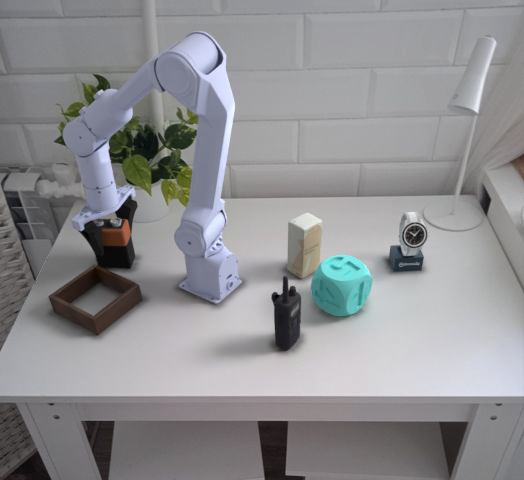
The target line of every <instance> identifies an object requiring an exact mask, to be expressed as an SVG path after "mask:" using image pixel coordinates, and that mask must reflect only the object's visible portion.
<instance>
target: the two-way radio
mask: <svg viewBox="0 0 524 480" xmlns="http://www.w3.org/2000/svg"><path fill="white" fill-rule="evenodd" d="M270 297H271V298H270V299H271V301H272V304H273V308H274V309H273V323H274V341H275V345H276V346H277V348H278V349H280V350H283V351H289V350H291V348H292V347H294V345H295V344H296V343H297V342H298V340H299V339H300V337H301V324H302V320H301V319H302V318H301V316H302V296H301V293H300V292H298V291H297V287H296V286H295V285H290V286H289V276H288V275H284V276H283V277H282V293H280V294H279V293H278V292H277V291H273V292H272V293H271V295H270Z"/></svg>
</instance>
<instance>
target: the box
mask: <svg viewBox="0 0 524 480" xmlns="http://www.w3.org/2000/svg"><path fill="white" fill-rule="evenodd" d="M322 233H323V220H322V219H320V218H319V217H317V216H315V215H314V214H312V213H310V212H308V211H307V212H304V213H302V214H299V215H298V216H296V217H294V218H292V219H290V220H288V221H287V260H286V261H287V263H286V265H287V267H286V269H287V271H289V272H290V273H291V274H293V275H294V276H297V277H298V278H299V279H305V278H306V277H308V276H310V275H311V274H314V273H315V271H316V269H317V268H318V266H319V265H320V264H321V252H322V250H321V249H322V248H321V247H322V235H323V234H322Z"/></svg>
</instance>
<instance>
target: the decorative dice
mask: <svg viewBox="0 0 524 480" xmlns="http://www.w3.org/2000/svg"><path fill="white" fill-rule="evenodd" d="M312 275H313V276H312V278H311V282H310V293H311V296H312V298H313V300H314V302H315V304H316V305H317V306H318V307H319V308H320V310H322V311H323V312H325V313H327V314H329V315H331V316H335V317H347V316H351V315H354V314H356V313H357V312H358V311H360V310H361V308H362V307H363V306H364V305H365V303H366V302H367V300H368V298H369V296H370V294H371V292H372V291H371V290H372V287H373V278H372V274H371V272H370V270H369V268H368V266H367V265H366V264H365V263H364V262H363V261H361V260H360V259H359V258H357V257H355V256H352V255H348V254H334V255H332V256H331V255H330V256H329V257H327V258H325V259H324V260H323V261H321V262H320V265H319V266H318V268H317V269H316V271H315V272H313V274H312Z"/></svg>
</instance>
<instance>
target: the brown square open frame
mask: <svg viewBox="0 0 524 480" xmlns="http://www.w3.org/2000/svg"><path fill="white" fill-rule="evenodd" d="M98 284H100V285H103V286H105V287H107V288H109V289H110V290H113V291H115V292H117V293H120V295H118V296H117V297H116V298H114V299H113V300H111V301H110V302H109V303H108V304H107V305H105V306H104V307H103V308H101V309H100V310H98V312H96V313H95V314H92V313H89V312H88V311H85V310H83V309H81V308H80V307H78V306H76V305H74V304H72V303H73V302H75V301H76V300H78V299H79V298H80V297H82V296H83V295H84V294H85V293H87V292H88V291H90V290H91V289H92V288H94V287H95V286H97V285H98ZM47 297H48V300H49V303H50V306H51V309H52V311H53V313H54V314H57V315H58V316H61V317H63V318H64V319H66V320H67V321H70V322H71V323H73V324H75V325H78V326H79V327H81V328H83V329H85V330H87V331H89V332H90V333H92V334H94V335H96V336H99V335H101V334H102V333H104V331H106V330H108V329H109V328H110V327H111V326H112V325H113V324H115V323H116V322H117V321H118V320H120V319H121V318H122V317H123V316H124V315H126V314H127V313H129V312H130V311H131V310H132V309H133V308H135V307H136V306H138V305H139V304H140V303H141V302H143V300H144V299H143V294H142V290H141V286H140V283H137V282H135V281H133V280H130V279H128V278H127V277H124V276H123V275H120V274H118V273H116V272H113V271H111V270H109V269H108V268H103V267H100V266H98V264H96V263H93V264H92V265H90V267H88V268H86V269H85V270H83V271H82V272H80V273H79V274H78V275H76V276H75V277H74V278H72V279H71V280H69V281H68V282H66V283H65V284H63V285H62V286H61V287H59V288H58V289H56V290H55V291H54V292H52V293H51V294H49V295H48V296H47Z"/></svg>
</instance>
